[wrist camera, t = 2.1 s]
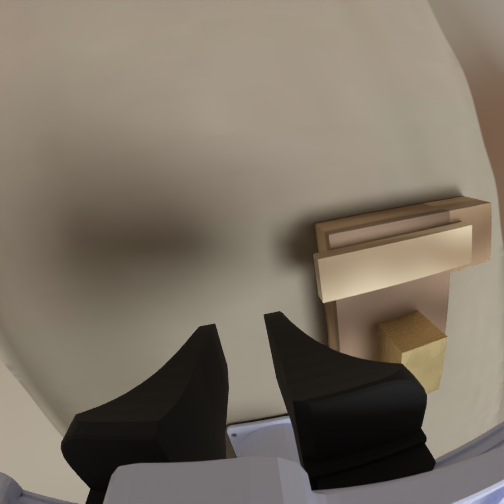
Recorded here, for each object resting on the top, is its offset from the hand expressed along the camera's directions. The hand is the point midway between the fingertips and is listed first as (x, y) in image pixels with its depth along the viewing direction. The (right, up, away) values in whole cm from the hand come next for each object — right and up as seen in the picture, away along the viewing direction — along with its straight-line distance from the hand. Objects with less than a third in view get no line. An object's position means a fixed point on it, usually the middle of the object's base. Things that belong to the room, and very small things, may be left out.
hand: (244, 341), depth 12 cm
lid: (+9, 0, +7) cm, 12 cm away
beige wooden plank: (+9, +3, +5) cm, 10 cm away
